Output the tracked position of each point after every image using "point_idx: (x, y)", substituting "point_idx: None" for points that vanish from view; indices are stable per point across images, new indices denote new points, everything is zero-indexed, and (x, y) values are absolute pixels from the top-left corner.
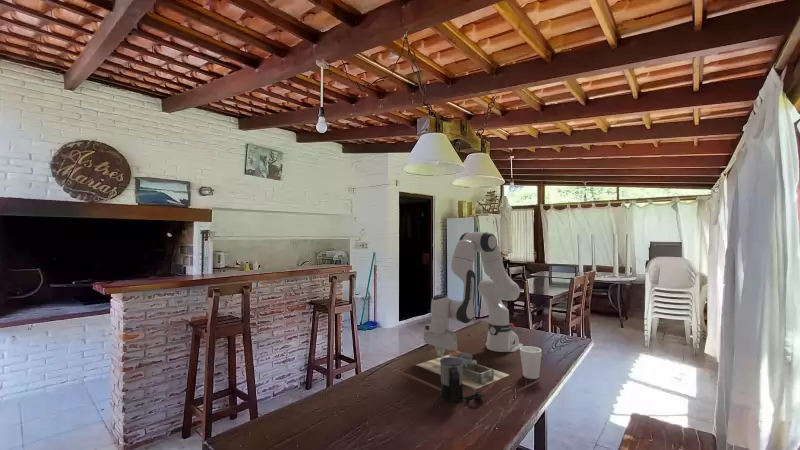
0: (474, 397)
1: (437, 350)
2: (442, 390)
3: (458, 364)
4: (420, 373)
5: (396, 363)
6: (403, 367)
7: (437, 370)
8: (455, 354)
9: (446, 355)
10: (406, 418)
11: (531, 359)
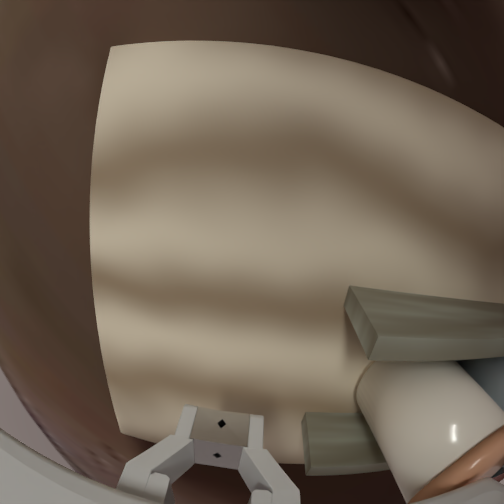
0: (498, 473)
1: (178, 475)
2: None
3: None
4: (224, 469)
5: (42, 410)
6: (101, 441)
7: (300, 445)
8: None
9: (103, 87)
10: None
11: None
